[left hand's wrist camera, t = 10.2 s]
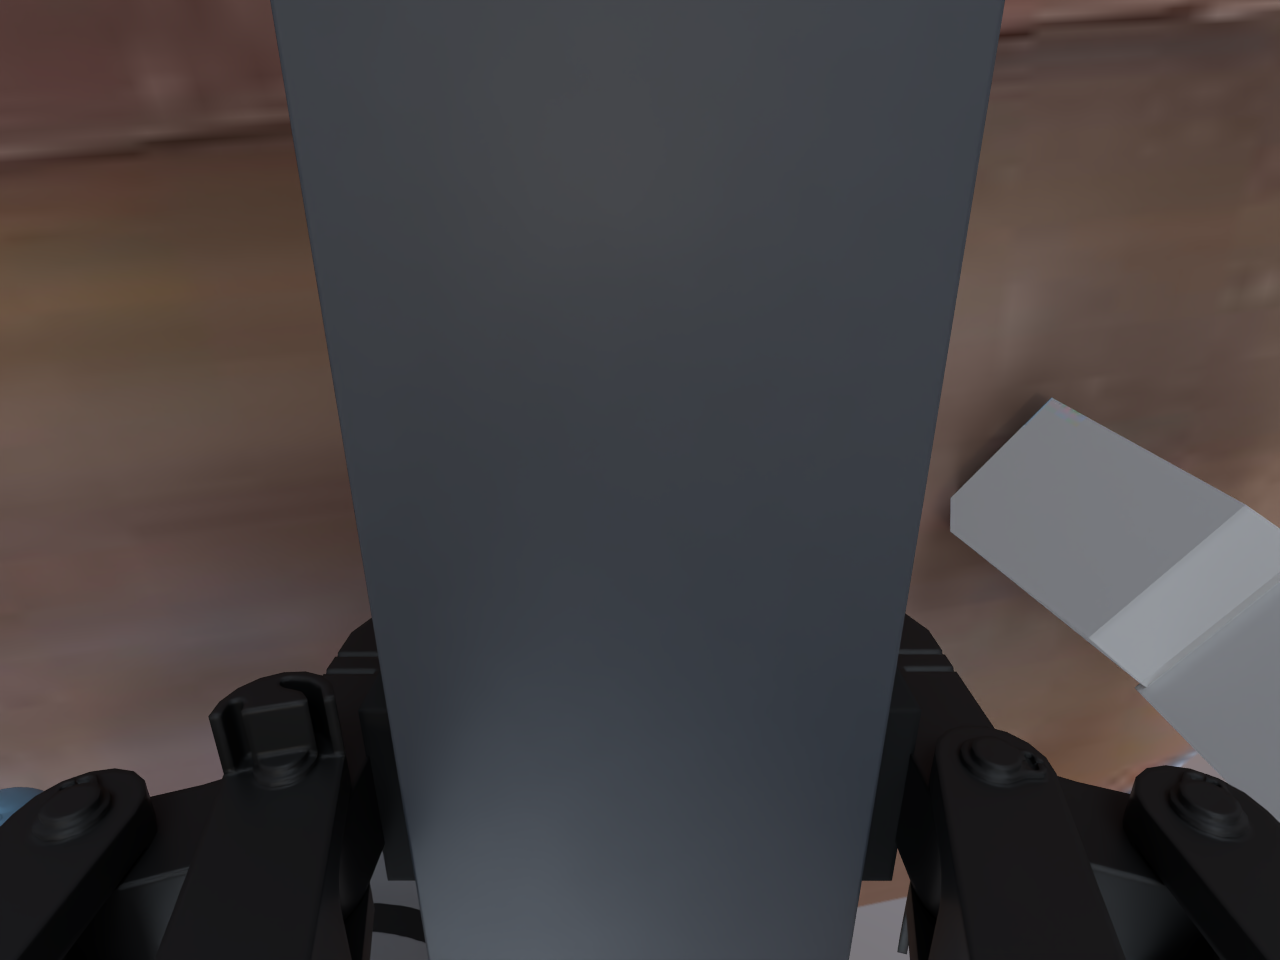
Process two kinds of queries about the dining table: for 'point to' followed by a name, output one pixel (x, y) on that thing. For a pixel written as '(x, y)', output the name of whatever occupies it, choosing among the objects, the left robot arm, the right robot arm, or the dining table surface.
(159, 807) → the left robot arm
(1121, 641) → the electronic device
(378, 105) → the post
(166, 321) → the dining table surface
